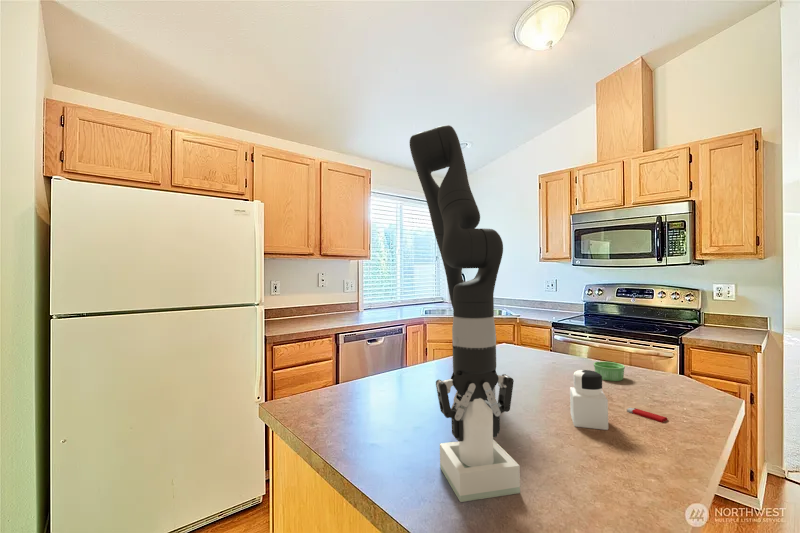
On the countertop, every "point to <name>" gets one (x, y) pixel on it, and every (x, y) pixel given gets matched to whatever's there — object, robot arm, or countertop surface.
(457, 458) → the socket
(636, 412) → the lighter
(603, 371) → the ramekin
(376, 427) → the countertop surface
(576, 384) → the medicine bottle
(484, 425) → the roll
